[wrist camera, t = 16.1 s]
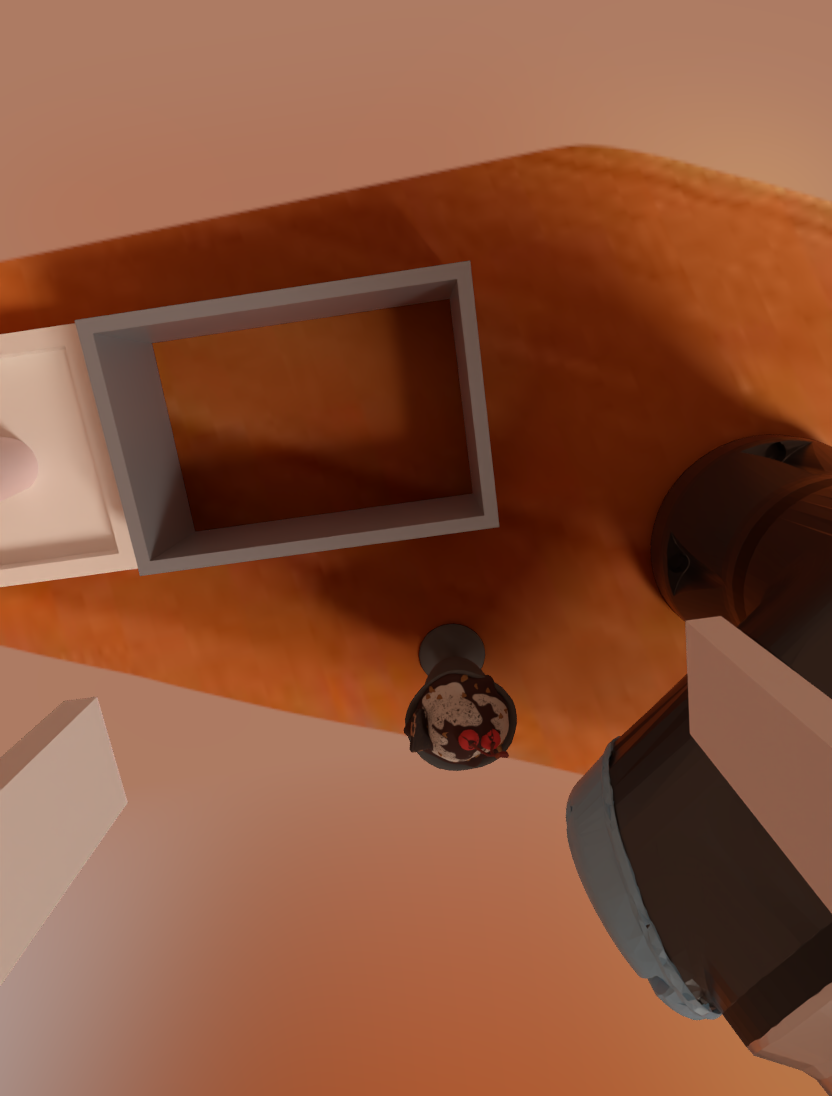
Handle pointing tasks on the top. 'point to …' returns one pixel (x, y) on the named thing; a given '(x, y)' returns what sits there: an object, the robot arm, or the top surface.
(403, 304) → the deep bin
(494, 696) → the sundae
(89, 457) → the tray
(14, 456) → the smoothie
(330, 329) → the top surface
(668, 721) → the robot arm
